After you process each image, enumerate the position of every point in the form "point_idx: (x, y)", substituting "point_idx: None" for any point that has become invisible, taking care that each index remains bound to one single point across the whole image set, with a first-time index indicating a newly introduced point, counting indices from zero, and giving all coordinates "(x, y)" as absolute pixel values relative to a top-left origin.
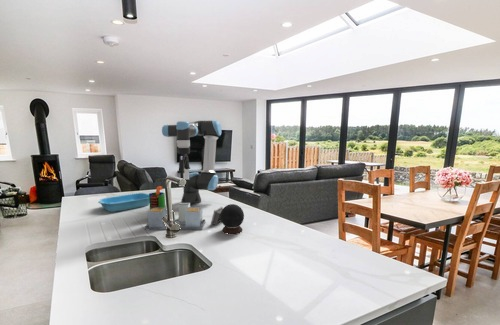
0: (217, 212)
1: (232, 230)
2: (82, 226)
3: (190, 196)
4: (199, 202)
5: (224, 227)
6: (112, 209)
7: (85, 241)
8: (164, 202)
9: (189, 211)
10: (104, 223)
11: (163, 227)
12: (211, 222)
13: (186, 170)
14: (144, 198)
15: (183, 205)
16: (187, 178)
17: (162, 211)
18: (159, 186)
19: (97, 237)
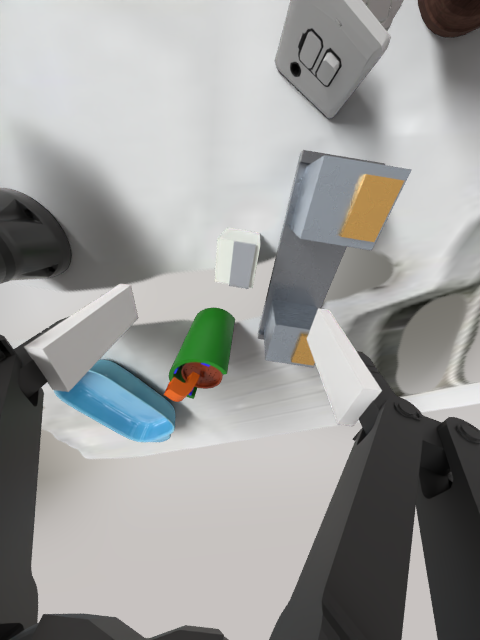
0: (390, 23)
1: None
2: (252, 424)
3: (27, 244)
4: (25, 196)
5: (464, 4)
6: (174, 412)
7: (329, 409)
8: (209, 337)
9: (378, 230)
10: (241, 404)
11: (319, 304)
12: (337, 111)
13: (69, 361)
14: None
15: (256, 265)
16: (128, 300)
17: None
18: (175, 397)
19: (316, 400)
